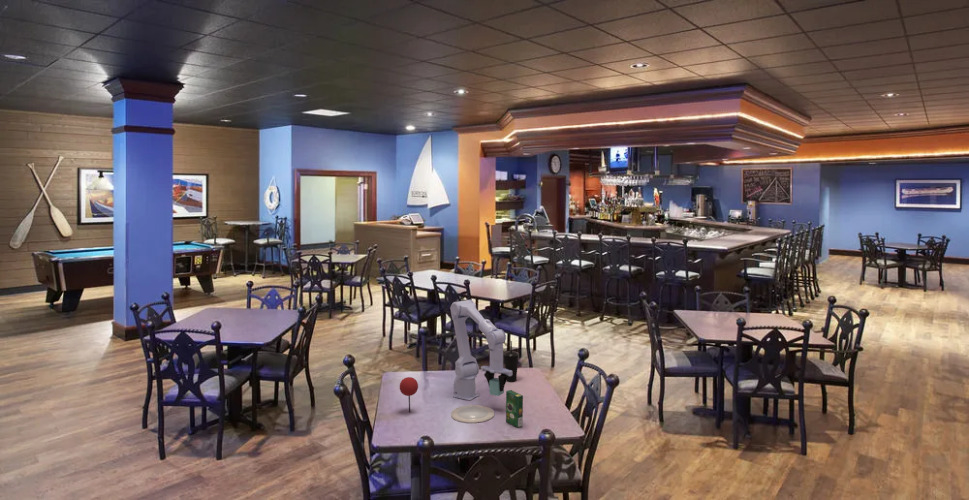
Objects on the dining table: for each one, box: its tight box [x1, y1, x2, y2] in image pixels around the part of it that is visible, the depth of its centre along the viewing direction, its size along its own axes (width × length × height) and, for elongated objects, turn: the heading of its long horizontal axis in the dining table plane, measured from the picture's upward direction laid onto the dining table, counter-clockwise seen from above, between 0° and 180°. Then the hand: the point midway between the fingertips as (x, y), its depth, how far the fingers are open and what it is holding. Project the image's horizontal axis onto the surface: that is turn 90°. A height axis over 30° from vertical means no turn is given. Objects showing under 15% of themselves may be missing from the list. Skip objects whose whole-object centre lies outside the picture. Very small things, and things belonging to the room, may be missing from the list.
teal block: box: [488, 377, 505, 397], centre depth 250 cm, size 4×4×6 cm
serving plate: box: [450, 404, 495, 424], centre depth 245 cm, size 18×18×1 cm
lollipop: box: [399, 376, 419, 413], centre depth 249 cm, size 8×8×15 cm
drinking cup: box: [503, 340, 520, 383], centre depth 288 cm, size 8×8×20 cm
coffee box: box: [505, 389, 524, 429], centre depth 234 cm, size 8×3×13 cm, turn 35°
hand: (496, 389), depth 250 cm, fingers closed on teal block, 4 cm apart
